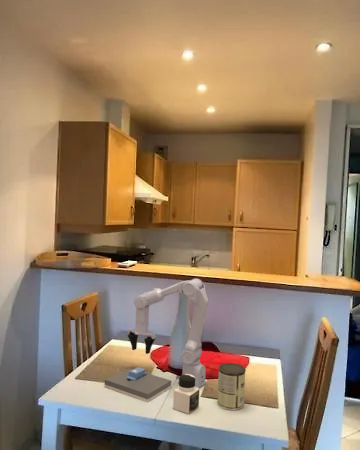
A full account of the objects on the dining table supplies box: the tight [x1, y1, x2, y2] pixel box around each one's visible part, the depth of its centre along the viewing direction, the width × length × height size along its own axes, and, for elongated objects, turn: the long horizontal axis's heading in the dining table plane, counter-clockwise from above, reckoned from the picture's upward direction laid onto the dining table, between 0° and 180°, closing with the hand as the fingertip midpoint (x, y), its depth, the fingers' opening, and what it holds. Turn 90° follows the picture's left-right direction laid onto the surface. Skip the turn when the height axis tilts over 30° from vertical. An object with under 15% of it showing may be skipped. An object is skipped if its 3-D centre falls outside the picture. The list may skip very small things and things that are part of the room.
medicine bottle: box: [172, 374, 200, 415], centre depth 153 cm, size 7×7×12 cm
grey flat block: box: [104, 367, 172, 403], centre depth 169 cm, size 22×16×3 cm
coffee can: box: [217, 362, 247, 411], centre depth 157 cm, size 10×10×14 cm
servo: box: [126, 366, 148, 381], centre depth 173 cm, size 4×10×5 cm, turn 148°
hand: (140, 351), depth 184 cm, fingers open, 7 cm apart
